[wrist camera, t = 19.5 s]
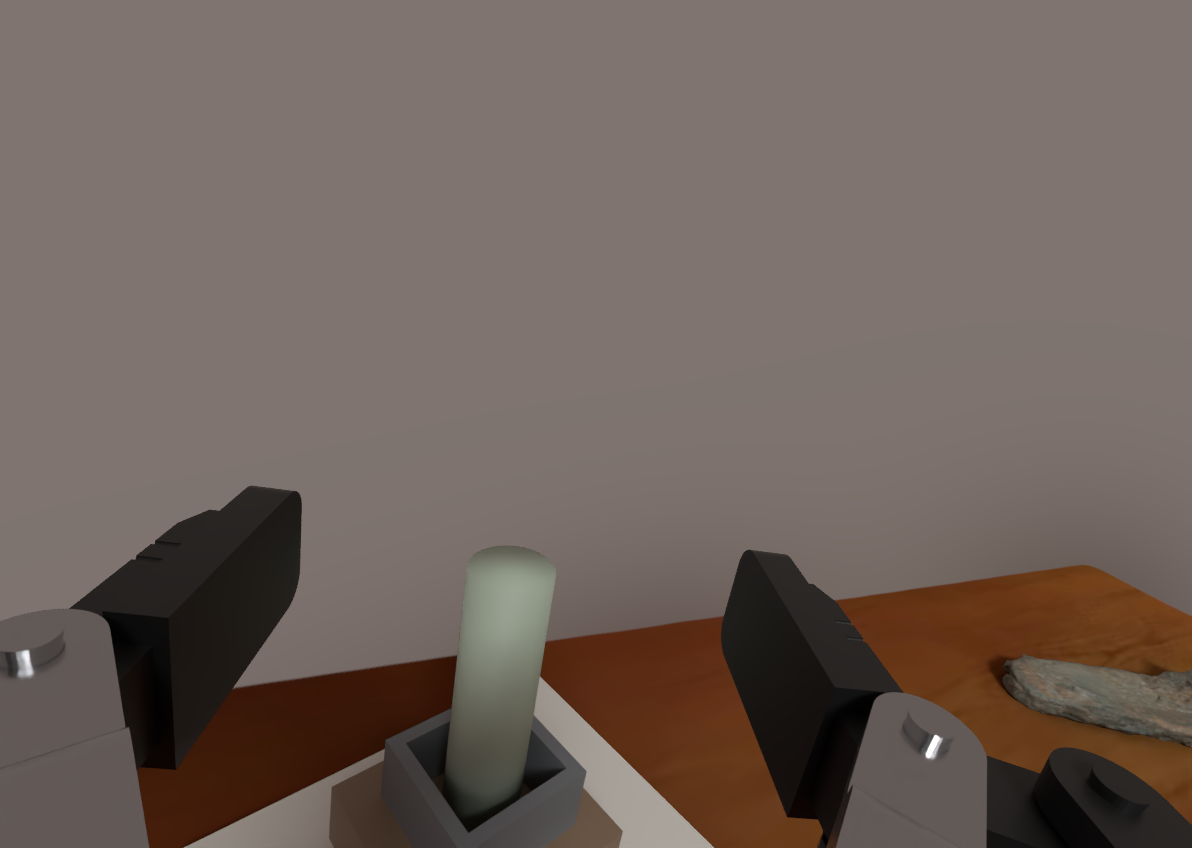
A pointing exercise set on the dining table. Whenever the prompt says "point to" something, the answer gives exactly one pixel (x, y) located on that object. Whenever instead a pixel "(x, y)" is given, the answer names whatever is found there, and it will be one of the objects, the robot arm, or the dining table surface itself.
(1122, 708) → the elongated rock
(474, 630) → the green dowel
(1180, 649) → the dining table surface
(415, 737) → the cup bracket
